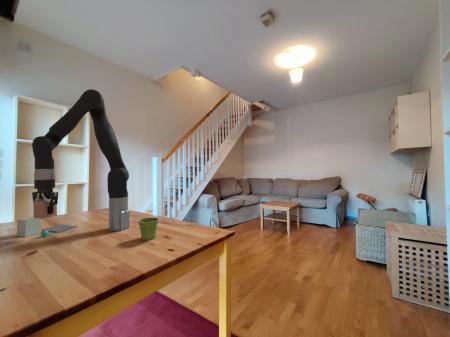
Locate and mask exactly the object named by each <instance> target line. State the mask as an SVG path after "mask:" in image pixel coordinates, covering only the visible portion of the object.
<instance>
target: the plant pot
mask: <svg viewBox="0 0 450 337" xmlns="http://www.w3.org/2000/svg"><path fill="white" fill-rule="evenodd" d="M159 221H160V218H158V217H152V216H151V217H145V218H140V219H138V220H137V223H138V226H139V230H140V237H141V239H142V241H149V240H154V239H156V237H157V235H156V234H157V230H158V223H159Z"/></svg>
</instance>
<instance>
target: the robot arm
mask: <svg viewBox="0 0 450 337" xmlns="http://www.w3.org/2000/svg"><path fill="white" fill-rule="evenodd" d="M88 113H89V115H90V118H91V120H92V124H93V125H92V126H93V131H94V136H95V139H96V142H97V145H98V147H99V149H100V151H101V153H102V154H103V156H104V157H105V159H106V161H107V163H108V165H109V171H108V173H107V181H106V182H107V193H108V230H109V231H110V232H119V231H121V232H122V231H124V230H127V229H129V228H130V210H129V191H128V181H129V180H130V179H129V178H130V174H129V170H128V168H127V167H126V165H125V162H124V160H123V157H122V154H121V150H120V147H119V143H118V138H117V136H116V133H115V131H114V129H113V127H112V124H111V123H110V121H109V118H108V115H107V111H106V106H105V100H104V98H103V95H102V94H101V92H100V91H98V90H96V89H87V90H85V91H83V93H82V94H81V95H80V97H79V98H78V99H77V100H76V101H75V103H74V104H73V106H71V107H70V109H68V111H67V112H65V114H64V115H62V116H61V117H60V118H59V119H58V120H57V121H55V122H54V123H53V124H52V125H51V126H50V127H49V128H48V132H46V133H45V135H39V136H36V137H35V138H33V140H32V144H31V147H32V153H33V154H32V155H33V158H34V172H33V188H34V189H35V190H37V191H33V192H31V196H32V202H33V201H39V200H44V201H46V202H47V206H48V207H47V213H48V214H53V213H54V205H55V204H57V205H58V202H59V201H58V199H59V192H58V191H54V188H56V171H55V160H54V157H53V150H55V149H56V148H57V147H58V146H59V145H60V144H61V142H62V141H63V140H64V139H65V138H66V137H67V136H68V135H69V134H70V133H71V132H73V130H74V129H75V128H76V127H77V126H78V125H79V123H80V122H81V120H82V119H83V118H84V116H85V115H86V114H88ZM54 200H55V202H54ZM49 201H50V203H49Z"/></svg>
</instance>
